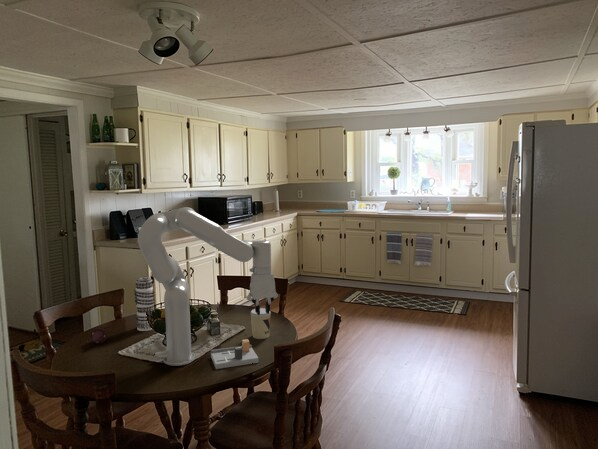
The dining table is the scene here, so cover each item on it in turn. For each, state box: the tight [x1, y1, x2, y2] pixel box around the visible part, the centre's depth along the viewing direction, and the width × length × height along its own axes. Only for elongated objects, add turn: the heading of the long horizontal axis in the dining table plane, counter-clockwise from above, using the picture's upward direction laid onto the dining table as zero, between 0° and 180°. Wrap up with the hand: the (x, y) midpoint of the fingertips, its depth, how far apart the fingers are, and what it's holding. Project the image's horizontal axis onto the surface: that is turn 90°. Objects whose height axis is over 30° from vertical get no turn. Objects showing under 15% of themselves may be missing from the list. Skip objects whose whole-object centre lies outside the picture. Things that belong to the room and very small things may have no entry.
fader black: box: [234, 345, 242, 360], centre depth 183 cm, size 2×3×4 cm
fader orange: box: [241, 338, 251, 352], centre depth 190 cm, size 2×3×4 cm
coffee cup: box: [250, 307, 272, 340], centre depth 212 cm, size 9×9×12 cm
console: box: [210, 344, 259, 370], centre depth 186 cm, size 17×12×3 cm
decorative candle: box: [133, 276, 155, 332], centre depth 222 cm, size 9×9×25 cm
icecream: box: [89, 325, 108, 345], centre depth 205 cm, size 7×7×15 cm
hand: (262, 313), depth 191 cm, fingers open, 3 cm apart
